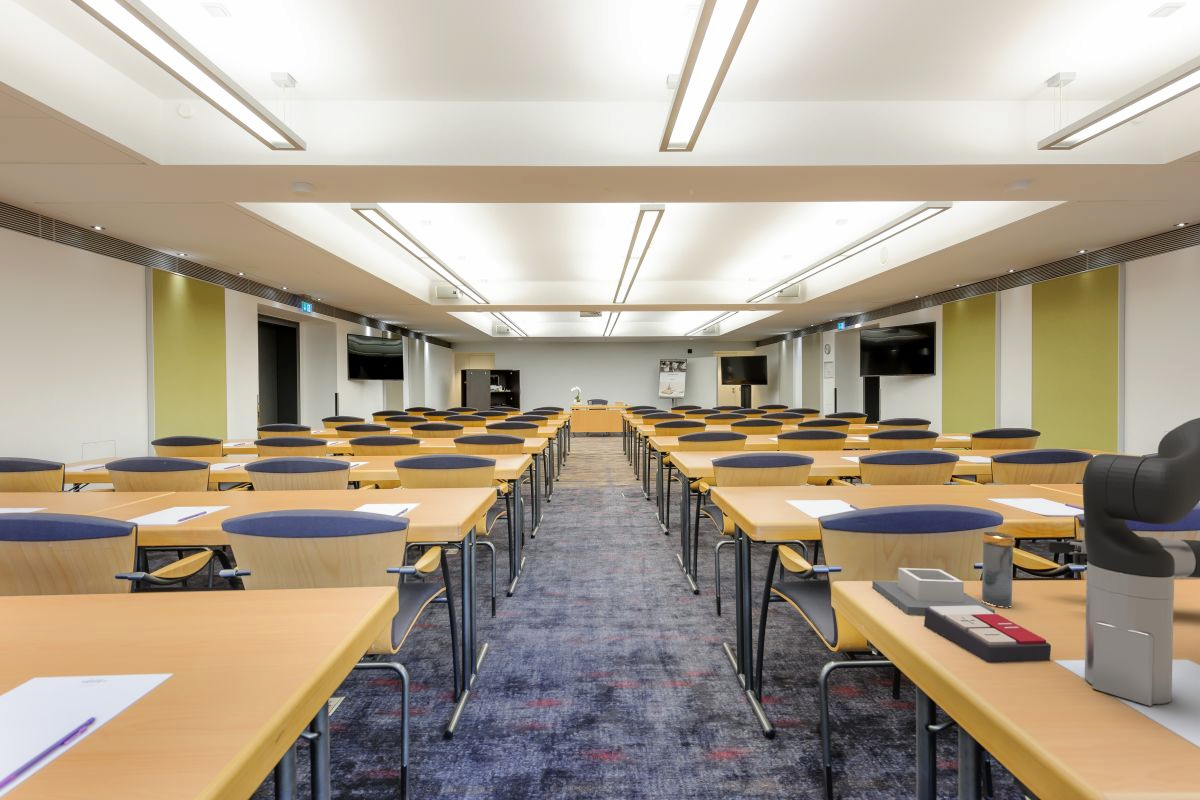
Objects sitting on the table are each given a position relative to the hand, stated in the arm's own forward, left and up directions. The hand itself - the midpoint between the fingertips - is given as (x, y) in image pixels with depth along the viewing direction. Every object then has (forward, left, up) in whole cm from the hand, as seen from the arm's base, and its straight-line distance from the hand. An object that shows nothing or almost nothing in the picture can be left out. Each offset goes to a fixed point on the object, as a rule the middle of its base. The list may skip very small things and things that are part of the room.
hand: (1060, 552), depth 115 cm
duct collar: (-17, +18, -11) cm, 27 cm away
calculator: (-31, +4, -12) cm, 34 cm away
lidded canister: (-7, +9, -11) cm, 16 cm away
